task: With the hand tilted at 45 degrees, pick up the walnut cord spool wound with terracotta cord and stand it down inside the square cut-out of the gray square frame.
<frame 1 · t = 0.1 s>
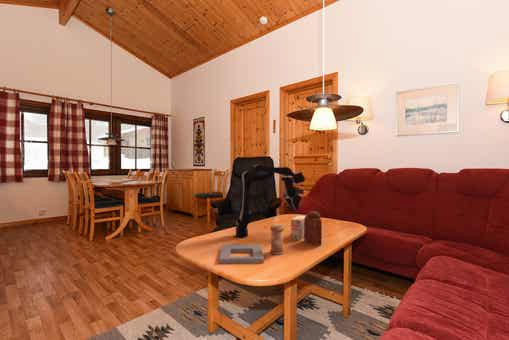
hand: (294, 209, 162), 15 cm above the table, tool pointing down, fingers open, 9 cm apart
cord spool: (276, 252, 127), on the table
stack of blocks: (301, 235, 158), on the table
wooden figurine: (313, 243, 144), on the table
gray square frame: (241, 256, 121), on the table
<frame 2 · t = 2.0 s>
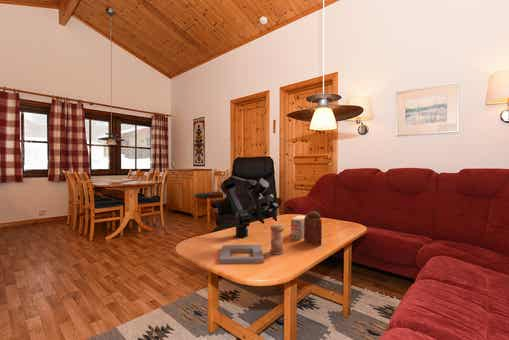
hand: (270, 222, 135), 14 cm above the table, tool tilted 45°, fingers open, 9 cm apart
nothing on the table moved.
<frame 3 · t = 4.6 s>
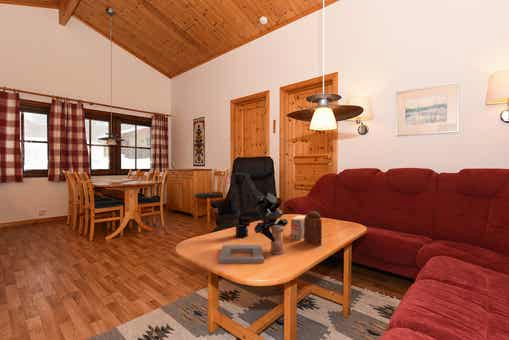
hand: (278, 240, 126), 7 cm above the table, tool tilted 45°, fingers closed on cord spool, 6 cm apart
cord spool: (276, 252, 127), on the table, touching gripper
everything else where it was.
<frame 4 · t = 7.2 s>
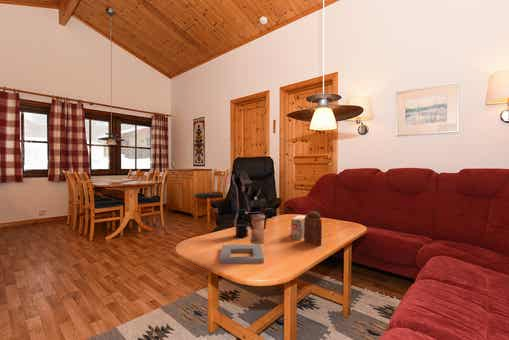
hand: (258, 229, 121), 13 cm above the table, tool tilted 45°, fingers closed on cord spool, 6 cm apart
cord spool: (257, 242, 123), point 7 cm above the table, touching gripper
everything else where it was.
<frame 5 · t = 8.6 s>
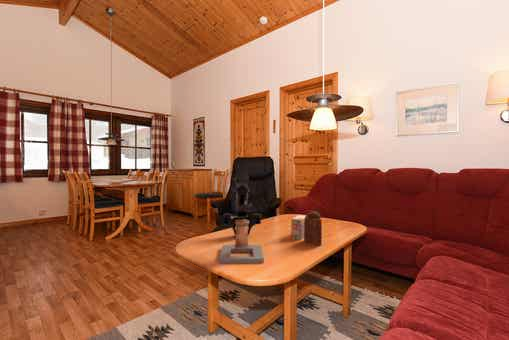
hand: (241, 234, 120), 11 cm above the table, tool tilted 45°, fingers closed on cord spool, 6 cm apart
cord spool: (241, 247, 121), point 4 cm above the table, touching gripper
when the fingers open (8 cm above the table, at t = 9.7 s): cord spool drops 1 cm, resting in gray square frame.
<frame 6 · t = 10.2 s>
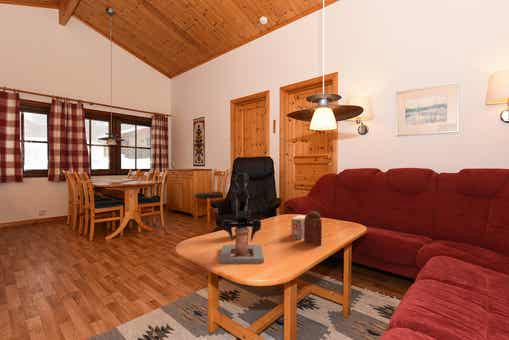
hand: (241, 240, 120), 8 cm above the table, tool tilted 45°, fingers open, 9 cm apart
cord spool: (241, 256, 122), resting in gray square frame
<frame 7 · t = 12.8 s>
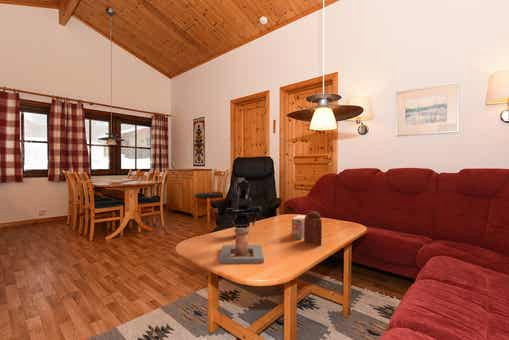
hand: (244, 226, 130), 12 cm above the table, tool tilted 40°, fingers open, 9 cm apart
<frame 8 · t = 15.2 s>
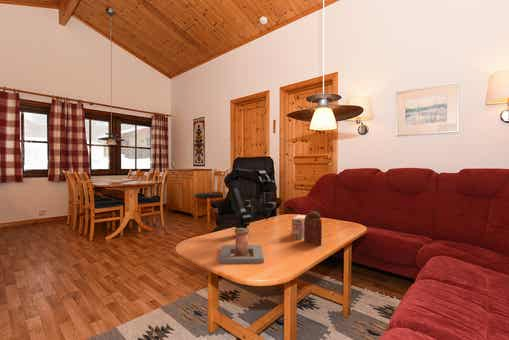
hand: (259, 219, 145), 13 cm above the table, tool pointing down, fingers open, 9 cm apart
at the end: cord spool 0.2 cm off-centre on the gray square frame, point 0.0 cm above the gray square frame's base; cord spool tilted 0°; the gripper is holding nothing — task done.
